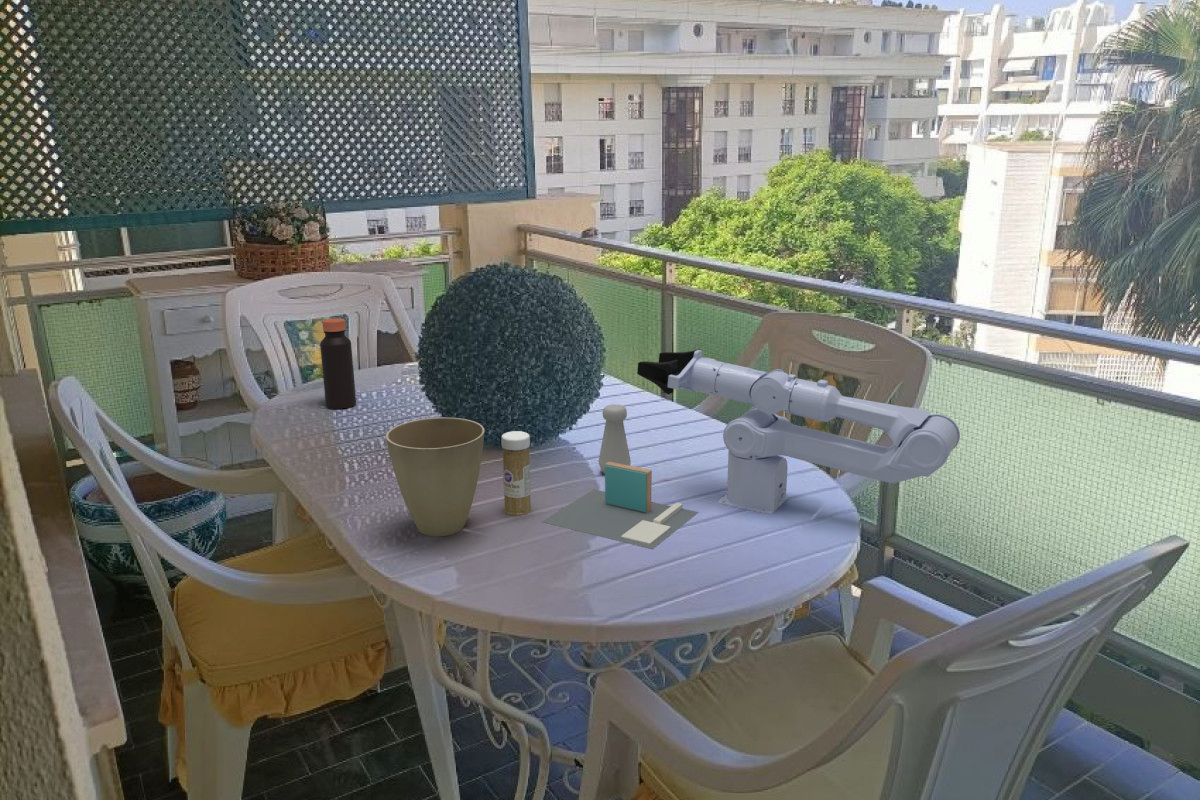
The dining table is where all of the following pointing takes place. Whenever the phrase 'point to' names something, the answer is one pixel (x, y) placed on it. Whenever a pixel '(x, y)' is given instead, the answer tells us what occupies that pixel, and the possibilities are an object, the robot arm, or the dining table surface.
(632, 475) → the tile
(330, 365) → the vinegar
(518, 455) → the sprinkles bottle
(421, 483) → the plant pot
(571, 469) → the dining table surface
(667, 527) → the turner
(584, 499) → the mat
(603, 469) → the salt shaker
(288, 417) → the dining table surface
